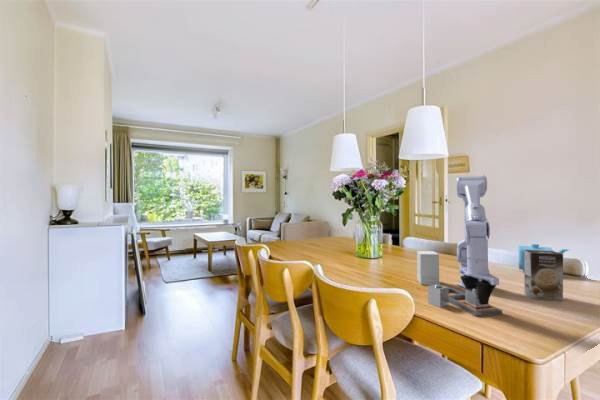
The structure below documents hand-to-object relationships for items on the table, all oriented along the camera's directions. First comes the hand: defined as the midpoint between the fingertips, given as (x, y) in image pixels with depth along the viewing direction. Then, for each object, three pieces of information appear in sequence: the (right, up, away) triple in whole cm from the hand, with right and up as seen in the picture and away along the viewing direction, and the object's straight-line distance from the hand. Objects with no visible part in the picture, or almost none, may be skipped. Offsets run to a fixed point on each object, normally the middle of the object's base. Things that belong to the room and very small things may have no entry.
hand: (477, 301), depth 93 cm
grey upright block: (-10, -3, +5) cm, 12 cm away
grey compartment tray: (-1, -3, +7) cm, 8 cm away
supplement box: (-3, -3, +30) cm, 30 cm away
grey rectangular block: (0, -3, 0) cm, 3 cm away
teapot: (+55, -1, +41) cm, 69 cm away
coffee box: (+29, -2, +10) cm, 31 cm away
